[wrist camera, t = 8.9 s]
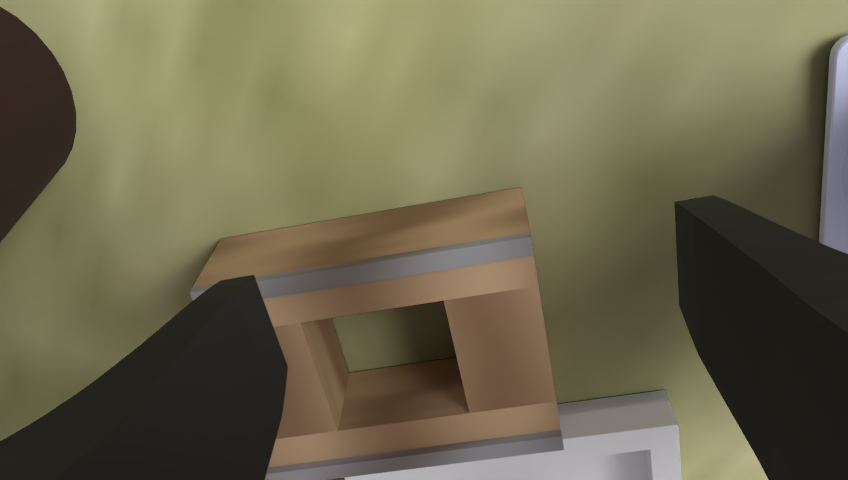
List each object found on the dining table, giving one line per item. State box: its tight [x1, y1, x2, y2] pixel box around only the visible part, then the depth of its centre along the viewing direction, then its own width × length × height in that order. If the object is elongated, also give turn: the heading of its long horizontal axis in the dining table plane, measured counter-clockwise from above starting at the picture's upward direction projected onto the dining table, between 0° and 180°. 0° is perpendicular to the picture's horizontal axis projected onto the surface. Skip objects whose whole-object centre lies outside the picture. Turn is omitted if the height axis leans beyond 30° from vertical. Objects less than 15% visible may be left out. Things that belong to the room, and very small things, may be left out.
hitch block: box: [189, 187, 564, 480], centre depth 24 cm, size 10×8×3 cm
